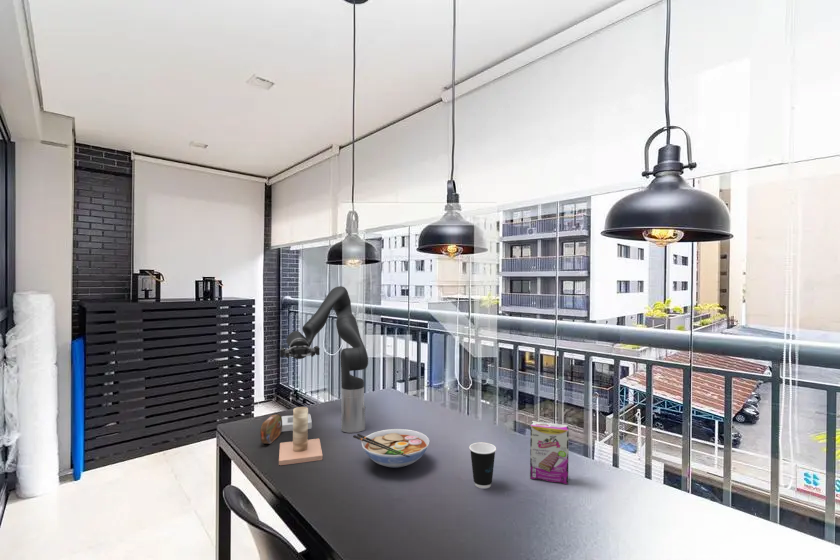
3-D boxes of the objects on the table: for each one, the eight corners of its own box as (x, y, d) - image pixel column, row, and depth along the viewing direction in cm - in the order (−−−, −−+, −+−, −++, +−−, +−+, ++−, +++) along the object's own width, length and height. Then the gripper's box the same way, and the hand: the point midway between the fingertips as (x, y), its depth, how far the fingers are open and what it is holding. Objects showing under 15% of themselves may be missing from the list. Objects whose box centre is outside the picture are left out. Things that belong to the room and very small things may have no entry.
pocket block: (310, 419, 179) (310, 413, 179) (311, 428, 167) (311, 422, 167) (281, 422, 175) (281, 416, 175) (280, 431, 164) (280, 425, 164)
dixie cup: (495, 492, 116) (495, 454, 116) (467, 489, 117) (467, 451, 118) (496, 479, 123) (496, 443, 123) (470, 476, 125) (470, 441, 125)
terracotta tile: (319, 442, 153) (319, 438, 153) (322, 459, 138) (322, 455, 138) (280, 446, 148) (280, 442, 148) (278, 465, 133) (278, 461, 133)
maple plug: (307, 445, 146) (307, 406, 146) (307, 450, 141) (308, 410, 142) (292, 446, 145) (293, 407, 145) (292, 452, 140) (293, 411, 140)
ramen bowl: (446, 463, 135) (446, 438, 135) (396, 488, 118) (396, 460, 118) (394, 443, 152) (394, 421, 152) (344, 463, 135) (344, 438, 135)
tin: (267, 447, 148) (267, 424, 148) (258, 447, 148) (258, 424, 148) (283, 432, 163) (283, 411, 163) (275, 432, 163) (275, 411, 164)
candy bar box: (529, 479, 123) (529, 425, 124) (531, 472, 128) (530, 420, 128) (569, 485, 120) (568, 429, 120) (568, 477, 124) (568, 424, 125)
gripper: (280, 339, 161) (279, 345, 145) (317, 337, 165) (320, 343, 149) (280, 358, 160) (279, 366, 145) (317, 356, 165) (320, 363, 149)
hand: (300, 354), depth 147 cm, fingers open, 8 cm apart
